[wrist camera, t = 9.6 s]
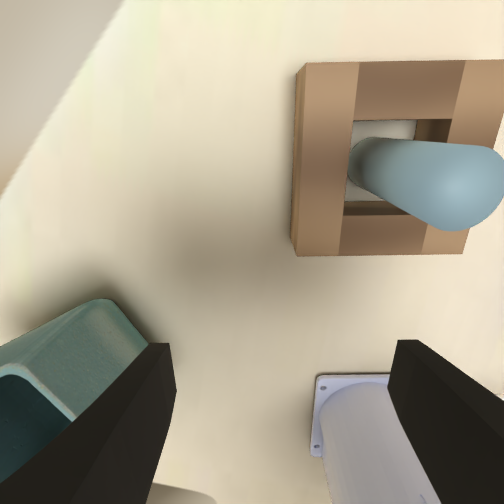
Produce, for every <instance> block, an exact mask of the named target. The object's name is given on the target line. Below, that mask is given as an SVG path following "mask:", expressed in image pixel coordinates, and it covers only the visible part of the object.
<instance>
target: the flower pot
mask: <svg viewBox="0 0 504 504" xmlns="http://www.w3.org/2000/svg"><path fill="white" fill-rule="evenodd" d="M148 345H149V344H148V342H147V341H146V340H145V339H144V338H143V336H142V335H141V334H140V333H139V332H138V330H137V329H136V328H135V327H134V326H133V325H132V323H131V322H130V321H129V320H128V318H127V317H126V316H125V315H124V314H123V312H122V311H121V310H120V309H119V307H118V306H117V305H116V304H115V303H114V302H113V301H112V300H110V299H95V300H91V301H88V302H86V303H84V304H82V305H79V306H77V307H75V308H74V309H72V310H70V311H68V312H66V313H64V314H62V315H60V316H59V317H57V318H55V319H53V320H51V321H49V322H47V323H45V324H43V325H41V326H39V327H38V328H36V329H34V330H32V331H30V332H28V333H26V334H24V335H22V336H20V337H18V338H16V339H14V340H12V341H10V342H8V343H6V344H4V345H2V346H0V483H1V482H3V481H4V480H5V479H7V478H8V477H9V476H10V475H12V474H13V473H14V472H15V471H17V470H18V469H19V468H20V467H21V466H23V465H24V464H25V463H26V462H27V461H29V460H30V459H31V458H32V457H33V456H35V455H36V454H37V453H38V452H39V451H41V450H42V449H43V448H44V447H45V446H46V445H48V444H49V443H50V442H51V441H52V440H53V439H54V438H55V437H57V436H58V435H59V434H60V433H61V432H62V431H63V430H64V429H65V428H66V427H68V426H69V425H70V424H71V423H72V422H73V421H74V420H75V419H76V418H77V417H78V416H79V415H80V414H81V413H82V412H83V411H84V410H85V409H87V408H88V407H89V406H90V405H91V404H92V403H93V402H94V401H95V400H96V399H97V398H98V397H99V396H100V395H101V394H102V393H103V392H104V391H105V390H106V389H107V388H108V387H109V386H110V385H111V384H112V383H113V381H114V380H115V379H116V378H117V377H118V376H119V375H120V374H121V373H122V372H123V371H124V370H125V369H126V368H127V367H128V366H129V365H130V364H131V362H132V361H133V360H134V359H135V358H136V357H137V356H138V355H139V354H140V353H141V352H142V351H143V350H144V349H145V348H146V347H147V346H148Z"/></svg>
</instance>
